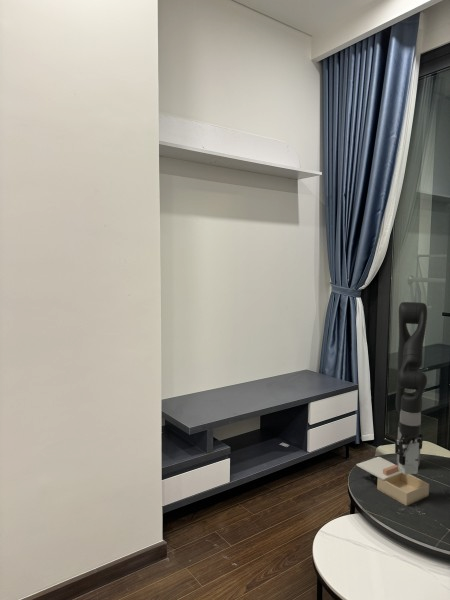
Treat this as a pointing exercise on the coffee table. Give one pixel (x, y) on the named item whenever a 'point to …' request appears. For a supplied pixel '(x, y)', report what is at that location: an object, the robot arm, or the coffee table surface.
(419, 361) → the robot arm
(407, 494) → the box
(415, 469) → the skincare box
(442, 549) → the coffee table surface
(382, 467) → the lid
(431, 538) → the coffee table surface
